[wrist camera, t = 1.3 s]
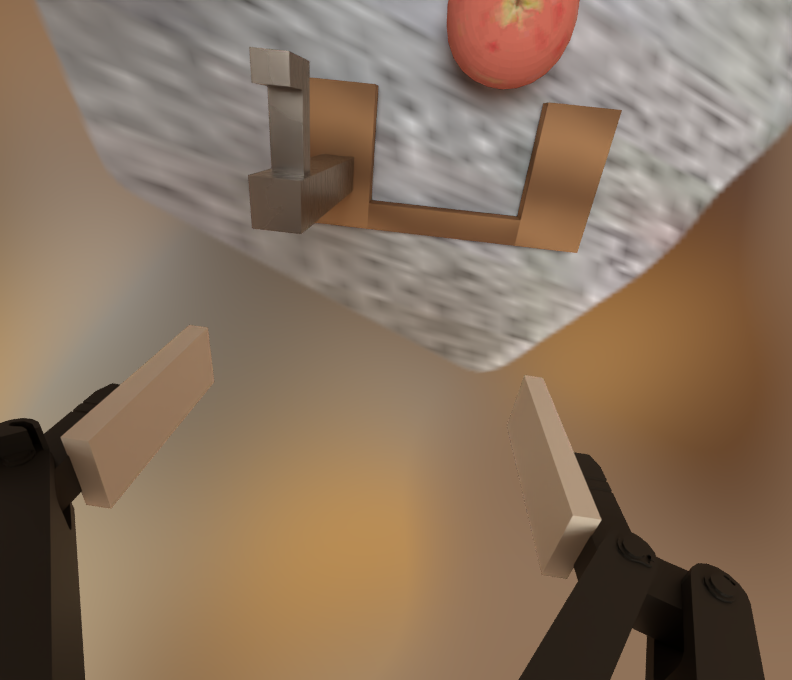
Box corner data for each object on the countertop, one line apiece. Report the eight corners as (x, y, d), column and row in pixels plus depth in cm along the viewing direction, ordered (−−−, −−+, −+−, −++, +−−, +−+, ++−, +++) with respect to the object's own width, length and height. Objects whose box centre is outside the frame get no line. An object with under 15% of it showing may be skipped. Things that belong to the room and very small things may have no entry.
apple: (444, -37, 26) (448, -95, 19) (562, -51, 25) (612, -117, 18) (445, 97, 30) (449, 89, 23) (550, 88, 29) (587, 77, 22)
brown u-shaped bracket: (310, 78, 30) (304, 76, 28) (613, 110, 29) (621, 110, 28) (311, 217, 34) (306, 221, 33) (571, 247, 34) (576, 252, 33)
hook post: (323, 78, 28) (238, 45, 16) (357, 82, 28) (298, 52, 16) (322, 187, 32) (252, 228, 20) (352, 190, 32) (301, 233, 19)
